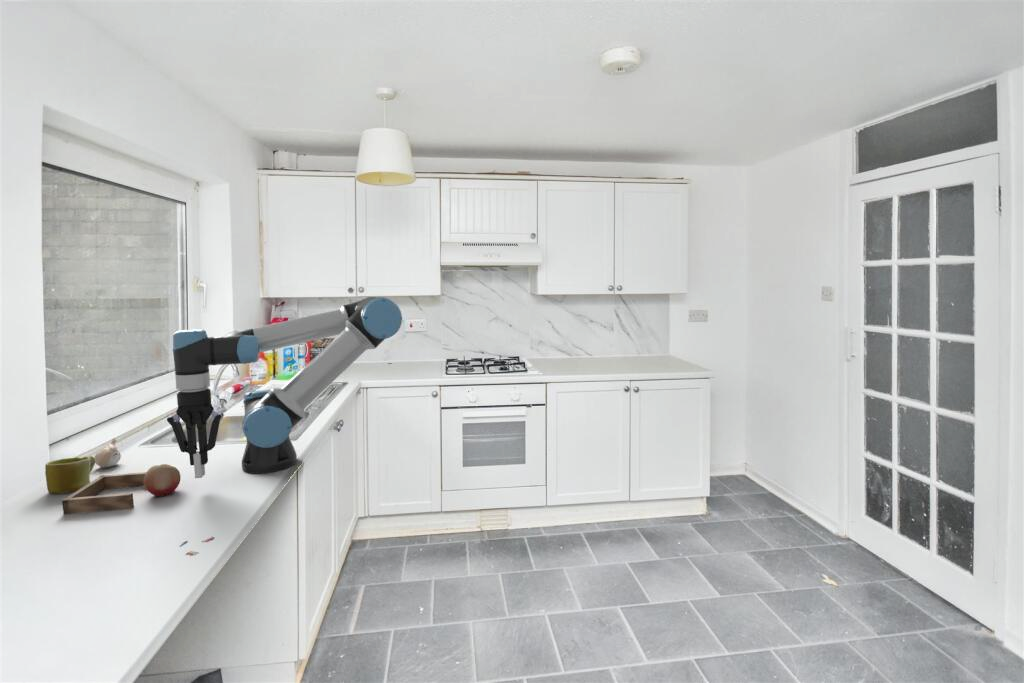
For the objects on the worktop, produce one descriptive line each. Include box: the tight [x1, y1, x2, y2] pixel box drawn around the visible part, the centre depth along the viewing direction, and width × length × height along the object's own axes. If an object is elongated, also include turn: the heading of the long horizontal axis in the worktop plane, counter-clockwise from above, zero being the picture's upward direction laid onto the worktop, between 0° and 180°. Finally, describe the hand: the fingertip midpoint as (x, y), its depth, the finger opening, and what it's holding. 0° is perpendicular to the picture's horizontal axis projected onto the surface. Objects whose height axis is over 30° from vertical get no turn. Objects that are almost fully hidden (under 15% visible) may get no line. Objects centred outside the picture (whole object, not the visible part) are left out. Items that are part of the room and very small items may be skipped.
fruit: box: [143, 463, 182, 497], centre depth 134 cm, size 8×8×8 cm
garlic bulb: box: [93, 437, 122, 469], centre depth 154 cm, size 7×6×8 cm
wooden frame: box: [61, 471, 147, 515], centre depth 132 cm, size 14×16×4 cm
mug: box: [44, 455, 96, 495], centre depth 138 cm, size 12×10×10 cm
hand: (200, 476), depth 135 cm, fingers closed
